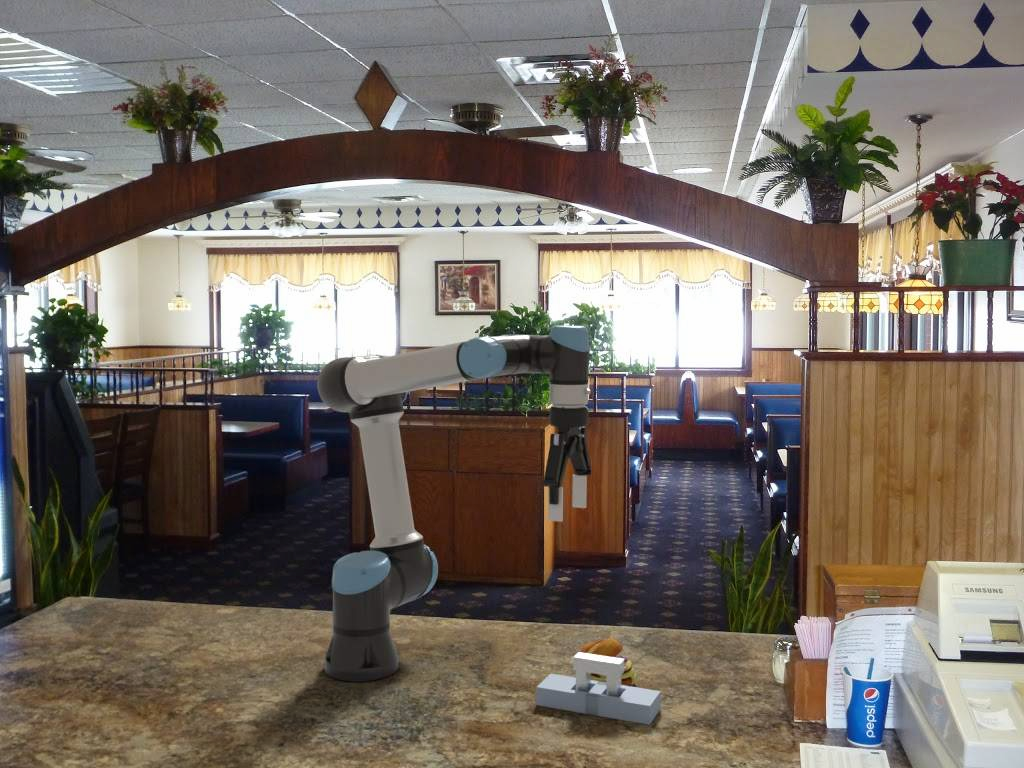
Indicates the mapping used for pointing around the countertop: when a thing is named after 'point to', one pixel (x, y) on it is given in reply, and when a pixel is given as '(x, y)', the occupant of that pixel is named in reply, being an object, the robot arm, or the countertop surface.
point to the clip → (598, 672)
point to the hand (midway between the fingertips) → (567, 514)
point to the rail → (599, 699)
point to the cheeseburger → (611, 650)
